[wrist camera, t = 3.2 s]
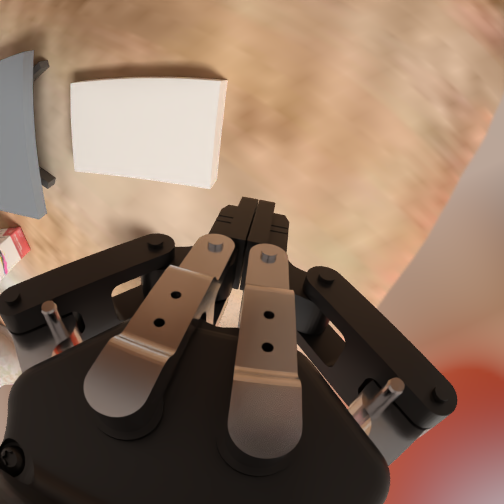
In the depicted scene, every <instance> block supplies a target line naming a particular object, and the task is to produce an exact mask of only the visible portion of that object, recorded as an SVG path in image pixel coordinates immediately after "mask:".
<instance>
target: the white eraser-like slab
mask: <svg viewBox="0 0 504 504" xmlns="http://www.w3.org/2000/svg"><path fill="white" fill-rule="evenodd" d="M227 82H228V80H221V79H208V78H191V77H122V78H106V79H94V80H84V81H79V82H75V83H71V130H72V146H73V158H74V168H75V171H77V172H87V173H96V174H105V175H114V176H122V177H131V178H138V179H146V180H153V181H161V182H168V183H174V184H181V185H188V186H194V187H200V188H207V189H211V187H212V186H213V184H214V183H215V182H216V180H217V174H218V163H219V153H220V143H221V134H222V124H223V115H224V107H225V98H226V90H227Z"/></svg>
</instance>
